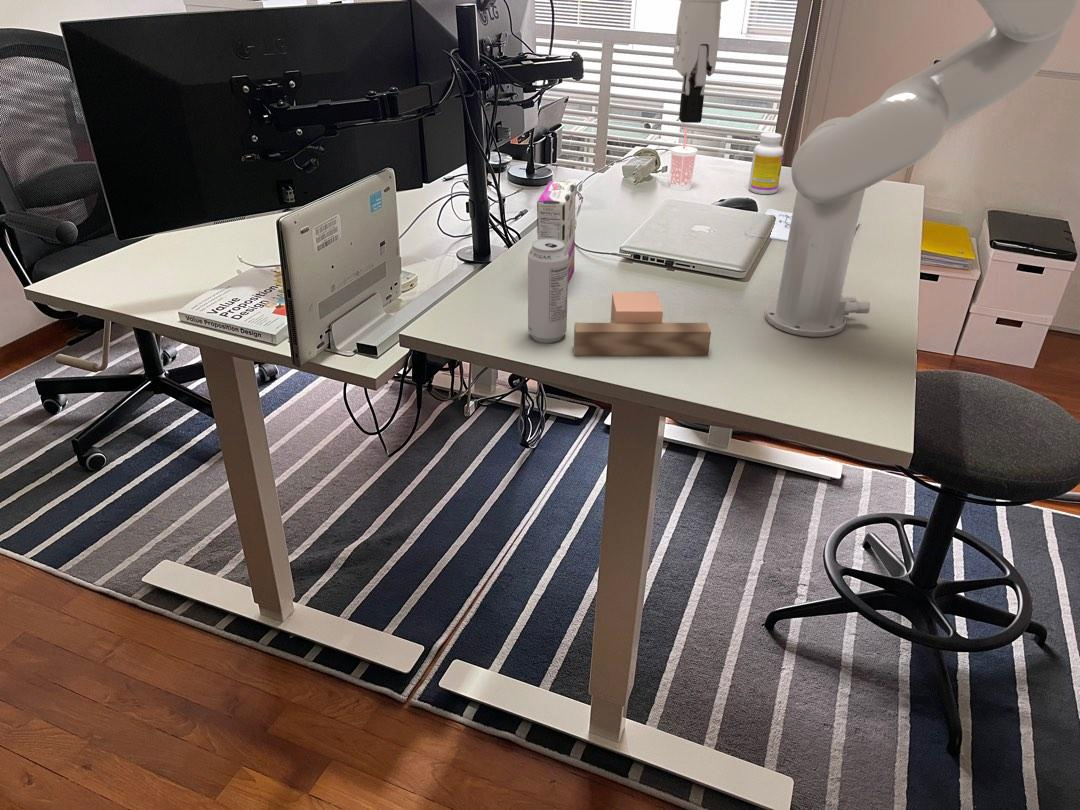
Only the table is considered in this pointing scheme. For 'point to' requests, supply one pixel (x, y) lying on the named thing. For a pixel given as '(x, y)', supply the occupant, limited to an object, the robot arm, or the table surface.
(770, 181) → the supplement bottle
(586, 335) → the walnut plank
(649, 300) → the terracotta block
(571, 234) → the candy bar box
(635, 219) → the table surface
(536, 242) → the energy drink can
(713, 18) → the robot arm
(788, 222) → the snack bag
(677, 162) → the beverage cup
